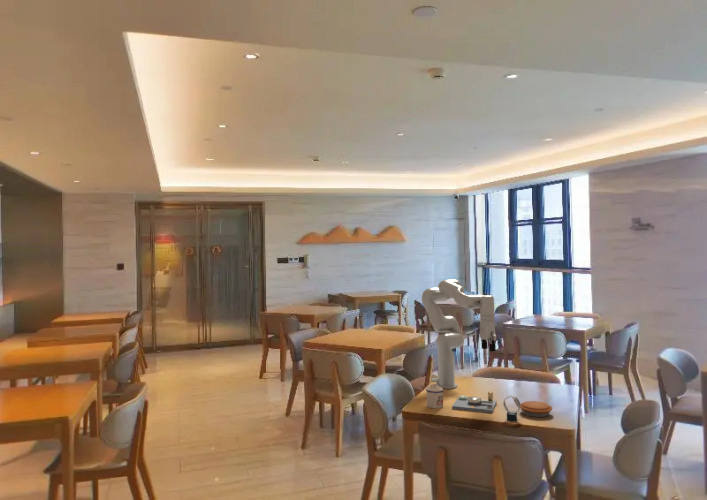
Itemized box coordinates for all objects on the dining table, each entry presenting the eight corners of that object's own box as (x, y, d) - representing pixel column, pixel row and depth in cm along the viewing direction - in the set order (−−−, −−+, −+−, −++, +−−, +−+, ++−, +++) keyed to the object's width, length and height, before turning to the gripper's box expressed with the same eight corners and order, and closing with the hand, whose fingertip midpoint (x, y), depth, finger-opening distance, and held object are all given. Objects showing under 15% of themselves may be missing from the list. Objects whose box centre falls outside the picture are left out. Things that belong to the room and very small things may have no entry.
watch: (520, 421, 247) (520, 398, 247) (502, 420, 250) (502, 396, 250) (521, 418, 252) (521, 395, 252) (504, 416, 255) (503, 393, 255)
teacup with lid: (439, 409, 266) (439, 386, 266) (423, 407, 271) (423, 384, 271) (448, 404, 276) (448, 381, 277) (432, 401, 281) (432, 379, 281)
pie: (555, 419, 250) (555, 409, 250) (521, 418, 253) (521, 407, 253) (549, 410, 266) (549, 400, 266) (517, 408, 268) (517, 398, 268)
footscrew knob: (466, 403, 270) (466, 391, 270) (469, 400, 277) (468, 388, 277) (492, 406, 266) (491, 394, 266) (493, 402, 272) (493, 390, 272)
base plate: (452, 408, 268) (452, 402, 268) (458, 399, 284) (458, 393, 284) (492, 413, 260) (492, 406, 260) (496, 403, 277) (496, 397, 277)
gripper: (474, 317, 294) (475, 348, 293) (488, 320, 277) (489, 352, 276) (486, 316, 295) (487, 347, 294) (501, 319, 278) (502, 351, 278)
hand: (488, 349), depth 285 cm, fingers open, 9 cm apart
